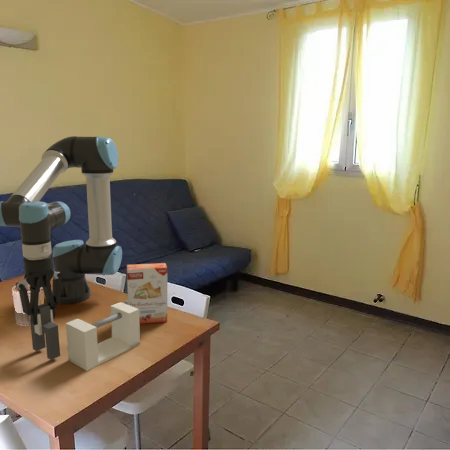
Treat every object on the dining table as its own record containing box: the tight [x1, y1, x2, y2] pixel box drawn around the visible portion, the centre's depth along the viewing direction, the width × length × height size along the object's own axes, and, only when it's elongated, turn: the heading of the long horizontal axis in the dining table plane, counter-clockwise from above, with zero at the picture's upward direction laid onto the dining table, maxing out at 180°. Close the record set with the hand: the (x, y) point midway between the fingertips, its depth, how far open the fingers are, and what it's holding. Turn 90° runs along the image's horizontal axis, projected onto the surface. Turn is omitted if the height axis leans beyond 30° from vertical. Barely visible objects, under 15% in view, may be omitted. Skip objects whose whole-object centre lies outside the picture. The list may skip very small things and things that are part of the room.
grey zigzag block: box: [29, 303, 61, 361], centre depth 124 cm, size 10×3×15 cm, turn 53°
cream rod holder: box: [65, 301, 141, 372], centre depth 127 cm, size 9×20×12 cm, turn 143°
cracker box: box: [126, 262, 168, 325], centre depth 148 cm, size 14×6×21 cm, turn 103°
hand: (44, 331), depth 124 cm, fingers closed on grey zigzag block, 3 cm apart
